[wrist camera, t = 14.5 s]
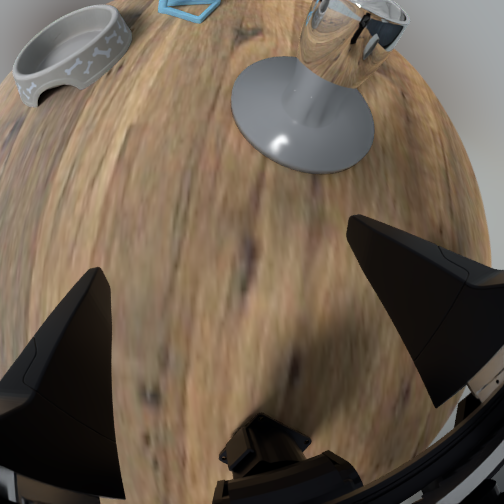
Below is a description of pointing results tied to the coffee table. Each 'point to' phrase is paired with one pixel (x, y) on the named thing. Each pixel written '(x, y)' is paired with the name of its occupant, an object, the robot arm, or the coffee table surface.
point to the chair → (162, 8)
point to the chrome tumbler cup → (339, 55)
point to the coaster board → (290, 133)
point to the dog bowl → (71, 51)
